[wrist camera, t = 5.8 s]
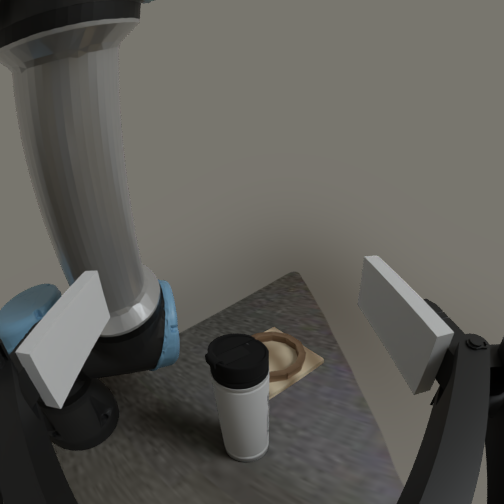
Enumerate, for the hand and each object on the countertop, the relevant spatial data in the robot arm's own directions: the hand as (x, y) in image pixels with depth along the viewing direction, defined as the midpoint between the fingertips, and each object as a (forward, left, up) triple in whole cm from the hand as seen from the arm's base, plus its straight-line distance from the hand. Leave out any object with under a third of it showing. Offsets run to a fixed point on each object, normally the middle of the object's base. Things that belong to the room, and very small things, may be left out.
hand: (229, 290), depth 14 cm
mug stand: (+21, +21, -33) cm, 44 cm away
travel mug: (+6, +9, -33) cm, 34 cm away
